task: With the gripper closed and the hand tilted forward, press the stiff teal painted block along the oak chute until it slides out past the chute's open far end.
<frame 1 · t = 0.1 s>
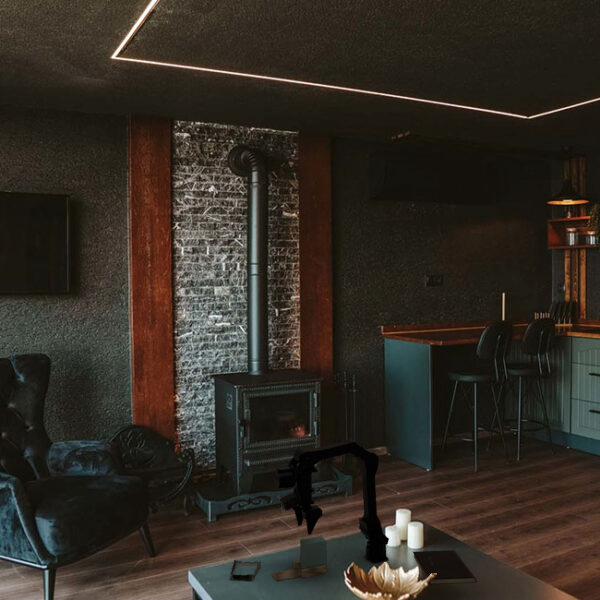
hand: (304, 530, 224), 15 cm above the table, tool pointing down, fingers open, 9 cm apart
block: (313, 554, 226), point 6 cm above the table, slide at 0.0 cm
chute: (309, 571, 225), on the table
hardcover book: (442, 570, 225), on the table
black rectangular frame: (244, 574, 225), on the table
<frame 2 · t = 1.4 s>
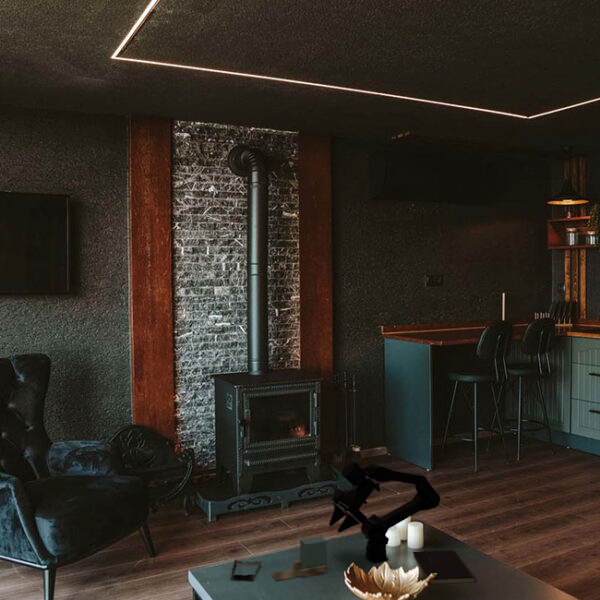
hand: (334, 528, 229), 13 cm above the table, tool tilted 45°, fingers open, 7 cm apart
nothing on the table moved.
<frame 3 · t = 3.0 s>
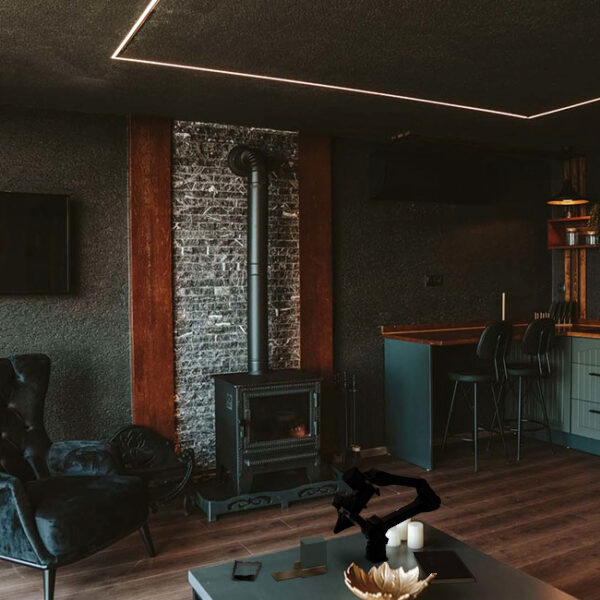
hand: (334, 533, 229), 12 cm above the table, tool tilted 45°, fingers closed
nothing on the table moved.
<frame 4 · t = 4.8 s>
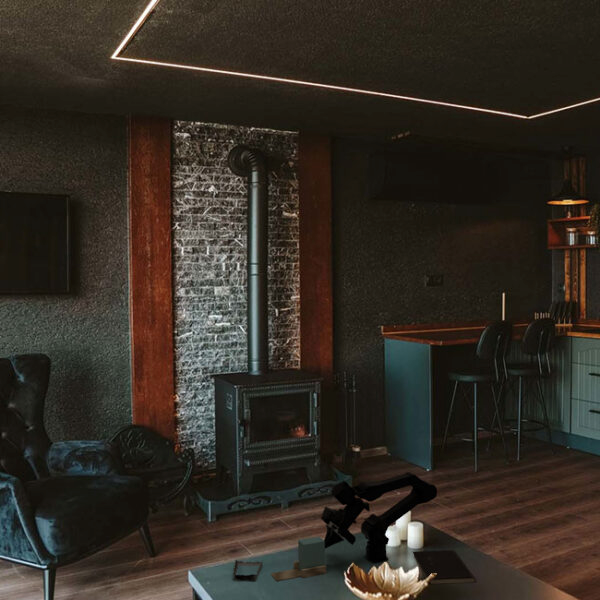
hand: (322, 548, 227), 7 cm above the table, tool tilted 45°, fingers closed, pressing on block
block: (311, 554, 225), point 6 cm above the table, slide at 0.8 cm, touching gripper
everything else where it was.
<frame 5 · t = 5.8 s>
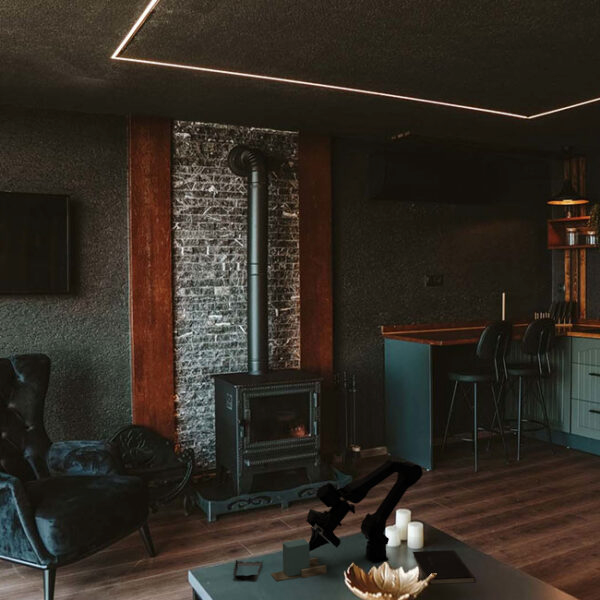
hand: (307, 550, 225), 7 cm above the table, tool tilted 45°, fingers closed, pressing on block
block: (296, 557, 223), point 6 cm above the table, slide at 6.6 cm, touching gripper
everything else where it was.
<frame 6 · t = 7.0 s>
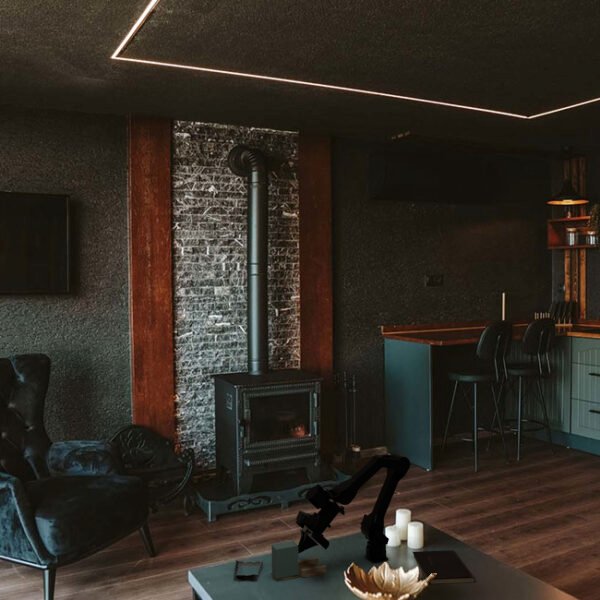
hand: (296, 552, 223), 7 cm above the table, tool tilted 45°, fingers closed, pressing on block
block: (285, 559, 222), point 6 cm above the table, slide at 10.7 cm, touching gripper
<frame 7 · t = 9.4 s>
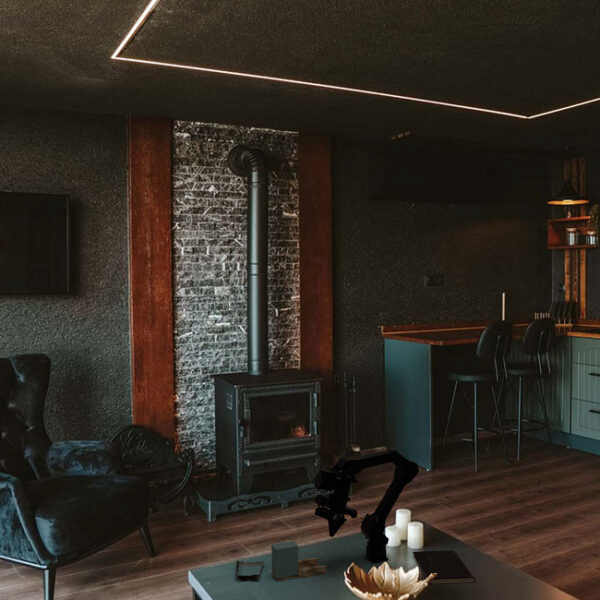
hand: (331, 536, 228), 11 cm above the table, tool tilted 15°, fingers closed
block: (285, 559, 222), point 6 cm above the table, slide at 10.7 cm
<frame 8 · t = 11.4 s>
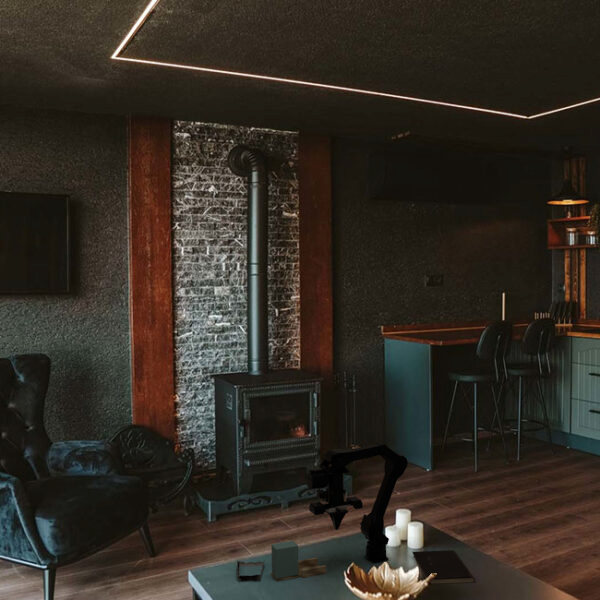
hand: (336, 529, 229), 13 cm above the table, tool pointing down, fingers closed
at the end: block slide at 10.7 cm; the gripper is holding nothing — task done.
